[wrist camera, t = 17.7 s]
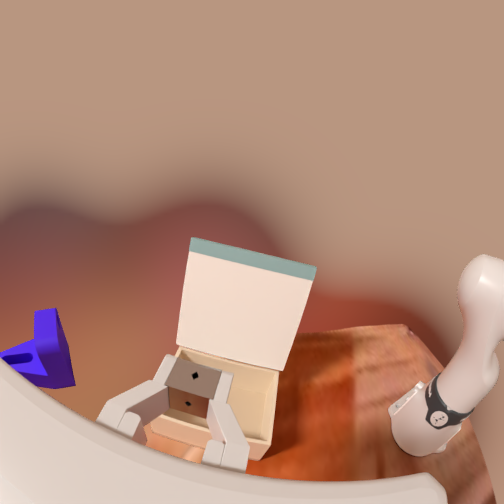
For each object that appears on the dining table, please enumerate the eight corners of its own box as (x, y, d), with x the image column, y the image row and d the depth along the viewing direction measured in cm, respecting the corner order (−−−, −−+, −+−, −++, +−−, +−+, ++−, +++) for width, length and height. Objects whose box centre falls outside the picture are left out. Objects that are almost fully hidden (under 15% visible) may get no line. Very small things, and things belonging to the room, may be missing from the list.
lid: (175, 344, 44) (177, 341, 45) (283, 371, 44) (283, 367, 45) (191, 238, 40) (193, 236, 41) (316, 268, 39) (315, 266, 40)
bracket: (68, 345, 45) (55, 303, 40) (75, 385, 38) (57, 344, 33) (1, 355, 35) (-19, 313, 30) (1, 395, 27) (-26, 354, 22)
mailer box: (179, 371, 49) (179, 346, 45) (268, 394, 48) (278, 371, 44) (152, 432, 35) (147, 412, 32) (258, 460, 34) (270, 445, 31)
